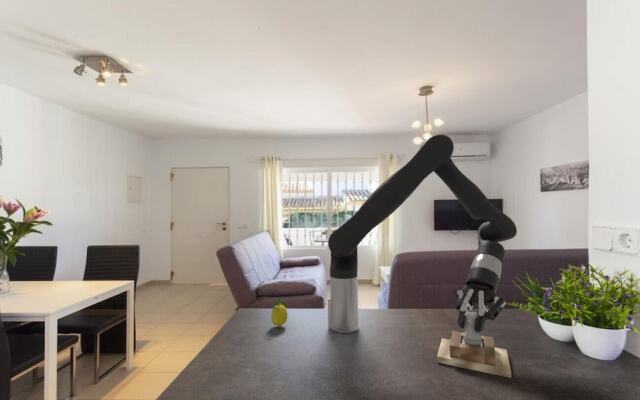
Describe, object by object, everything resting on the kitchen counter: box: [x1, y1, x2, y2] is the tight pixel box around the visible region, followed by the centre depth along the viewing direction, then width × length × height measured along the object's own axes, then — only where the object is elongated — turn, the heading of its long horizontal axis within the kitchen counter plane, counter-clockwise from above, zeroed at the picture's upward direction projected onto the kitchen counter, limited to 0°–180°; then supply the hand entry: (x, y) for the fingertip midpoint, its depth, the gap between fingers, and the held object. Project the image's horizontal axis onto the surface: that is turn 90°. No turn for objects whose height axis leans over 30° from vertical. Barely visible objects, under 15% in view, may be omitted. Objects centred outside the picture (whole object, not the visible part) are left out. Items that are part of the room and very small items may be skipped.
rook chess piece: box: [463, 309, 482, 345], centre depth 78 cm, size 4×4×8 cm
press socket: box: [436, 330, 512, 379], centre depth 77 cm, size 16×12×4 cm
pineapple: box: [270, 299, 288, 328], centre depth 100 cm, size 7×6×10 cm
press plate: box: [462, 338, 483, 347], centre depth 77 cm, size 5×5×1 cm
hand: (468, 328), depth 76 cm, fingers closed on rook chess piece, 3 cm apart
